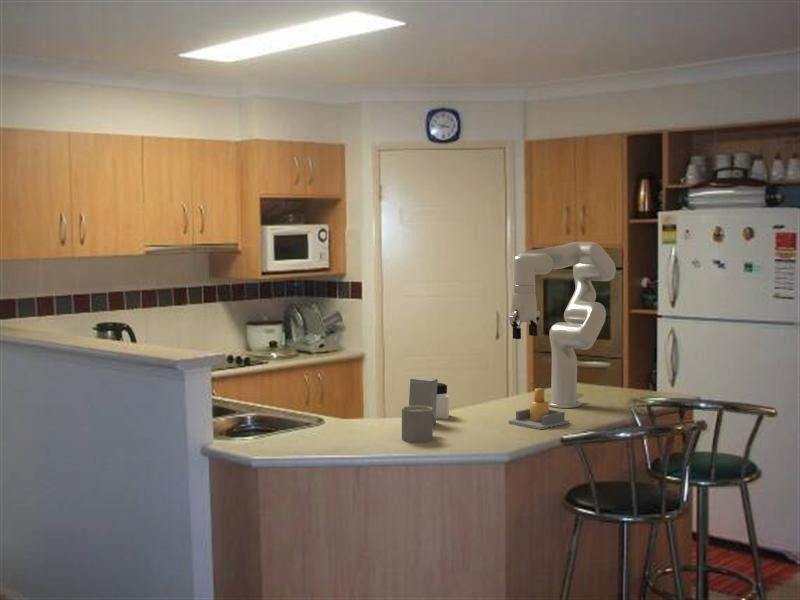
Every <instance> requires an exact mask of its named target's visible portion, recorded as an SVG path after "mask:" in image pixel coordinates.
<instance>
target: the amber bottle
mask: <svg viewBox="0 0 800 600" xmlns="http://www.w3.org/2000/svg"><path fill="white" fill-rule="evenodd" d="M533 395H534V398H533V399H534V400H533V399H532V400H530V401H529V409H530V421H532V422H542V416H544V415H549V408H550V406H549V402H548V401H549V400H545V388H541V387H540V388H539V387H537V388H534V394H533Z"/></svg>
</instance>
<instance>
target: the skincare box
mask: <svg viewBox="0 0 800 600" xmlns="http://www.w3.org/2000/svg"><path fill="white" fill-rule="evenodd" d="M409 379H410V380H409V394H408V395H409V397H408V398H409V399H408V400H409V401H408V406H416V405H418V406H428V407H432V408H433V412H434V415H435V423H436V402H437V383H439V381H438V378H430V377H424V376H423V377H422V376H421V377H420V376H415V377H411V378H409Z"/></svg>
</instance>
